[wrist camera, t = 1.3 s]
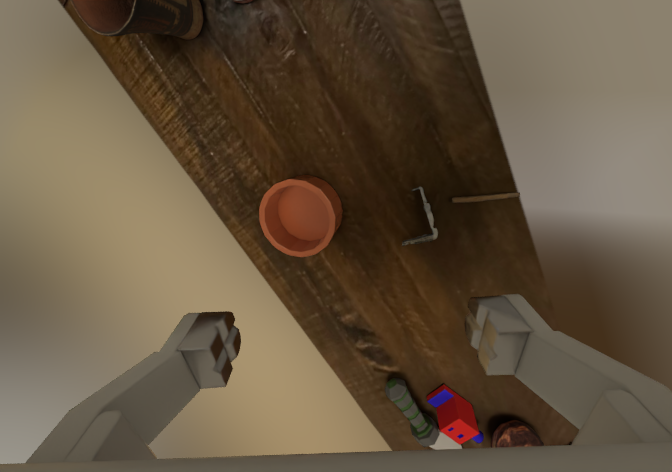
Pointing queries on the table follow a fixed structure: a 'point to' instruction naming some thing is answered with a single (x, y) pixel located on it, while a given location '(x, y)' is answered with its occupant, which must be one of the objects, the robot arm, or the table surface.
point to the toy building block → (455, 415)
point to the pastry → (515, 435)
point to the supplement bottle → (242, 1)
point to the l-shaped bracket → (431, 220)
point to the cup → (142, 16)
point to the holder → (300, 215)
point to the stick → (484, 197)
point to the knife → (418, 418)
